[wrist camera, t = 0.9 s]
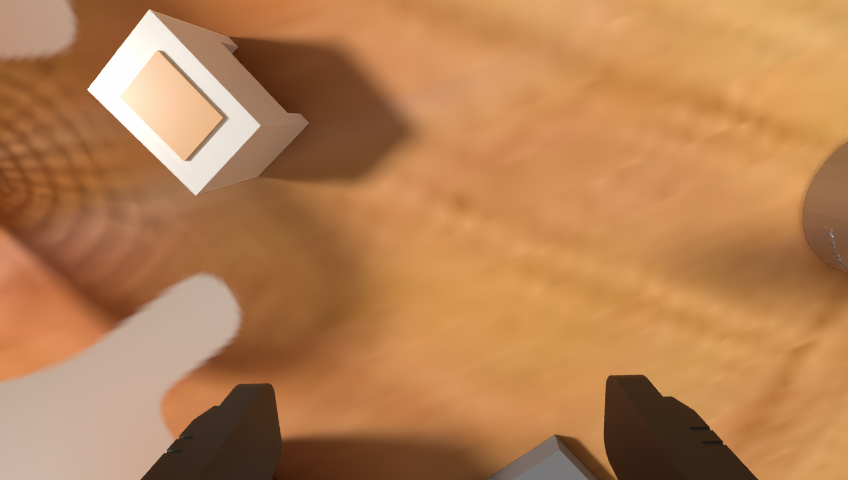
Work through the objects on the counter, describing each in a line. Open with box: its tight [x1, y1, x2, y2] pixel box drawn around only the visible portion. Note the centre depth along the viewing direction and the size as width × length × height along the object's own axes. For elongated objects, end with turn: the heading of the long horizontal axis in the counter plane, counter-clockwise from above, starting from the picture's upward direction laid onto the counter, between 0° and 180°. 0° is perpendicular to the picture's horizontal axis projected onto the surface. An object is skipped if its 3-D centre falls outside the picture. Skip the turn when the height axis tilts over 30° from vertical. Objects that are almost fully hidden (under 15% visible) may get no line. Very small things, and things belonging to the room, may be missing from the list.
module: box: [88, 9, 309, 196], centre depth 24 cm, size 7×5×7 cm
